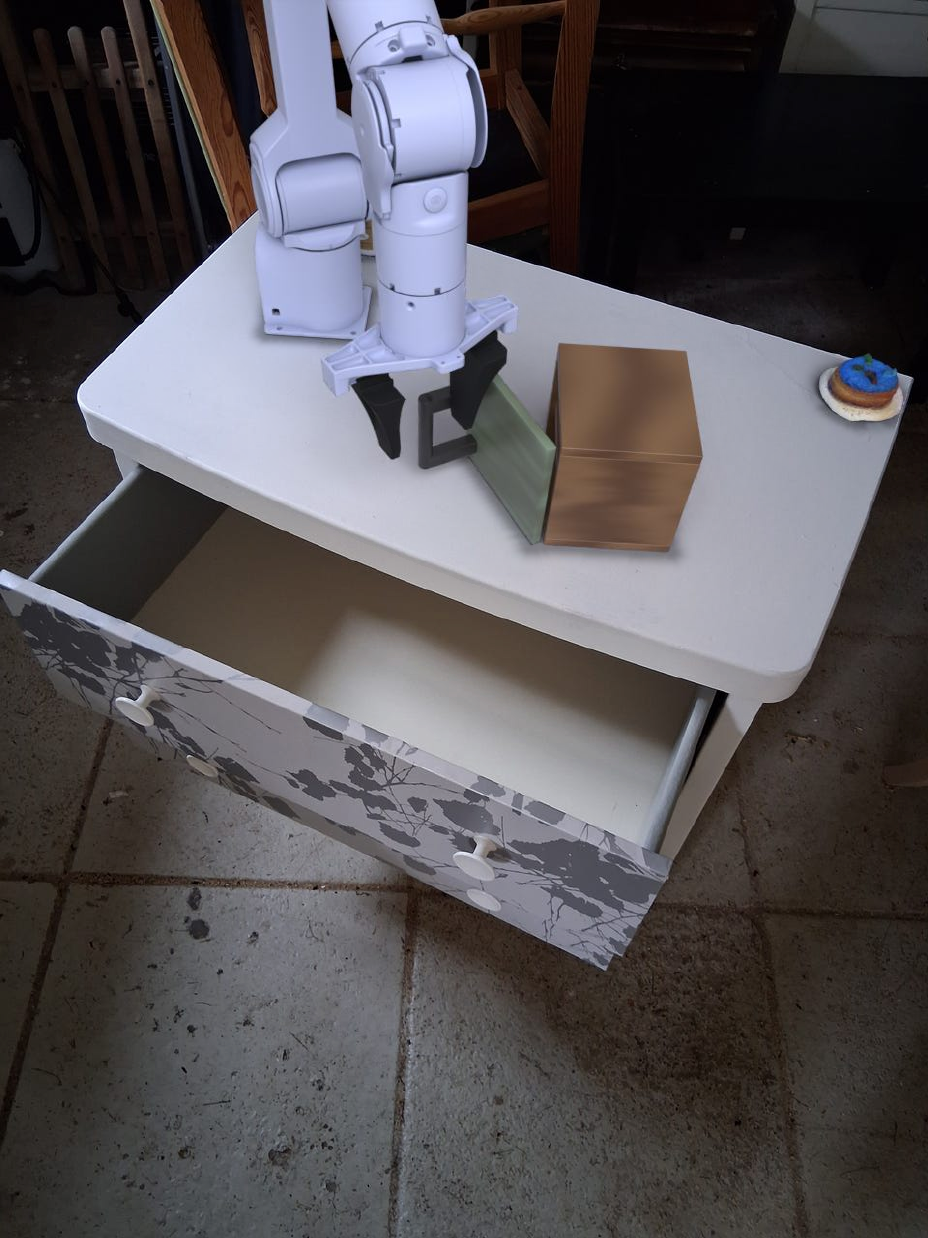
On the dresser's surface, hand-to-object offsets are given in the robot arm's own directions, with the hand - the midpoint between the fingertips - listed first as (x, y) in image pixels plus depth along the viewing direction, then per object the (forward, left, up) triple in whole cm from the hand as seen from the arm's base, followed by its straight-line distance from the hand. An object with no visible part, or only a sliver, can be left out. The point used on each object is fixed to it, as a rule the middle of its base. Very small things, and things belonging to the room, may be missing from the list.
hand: (425, 436), depth 67 cm
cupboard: (+15, +2, -7) cm, 17 cm away
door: (+4, 0, -7) cm, 8 cm away
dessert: (+40, +15, -9) cm, 43 cm away
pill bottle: (-8, +36, -7) cm, 37 cm away
